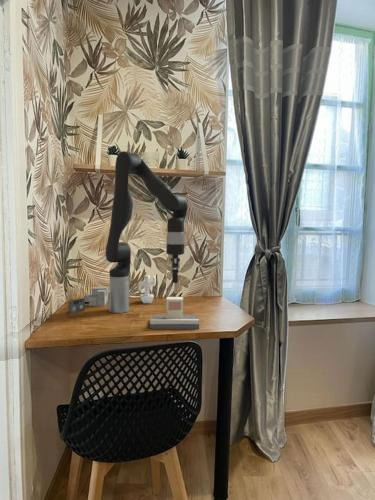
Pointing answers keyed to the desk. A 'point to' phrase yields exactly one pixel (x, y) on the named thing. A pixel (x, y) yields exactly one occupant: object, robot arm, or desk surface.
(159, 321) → the shelf board
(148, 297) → the white potted plant
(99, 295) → the grey stepped block
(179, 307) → the tea carton
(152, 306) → the desk surface
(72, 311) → the mini dv tape
